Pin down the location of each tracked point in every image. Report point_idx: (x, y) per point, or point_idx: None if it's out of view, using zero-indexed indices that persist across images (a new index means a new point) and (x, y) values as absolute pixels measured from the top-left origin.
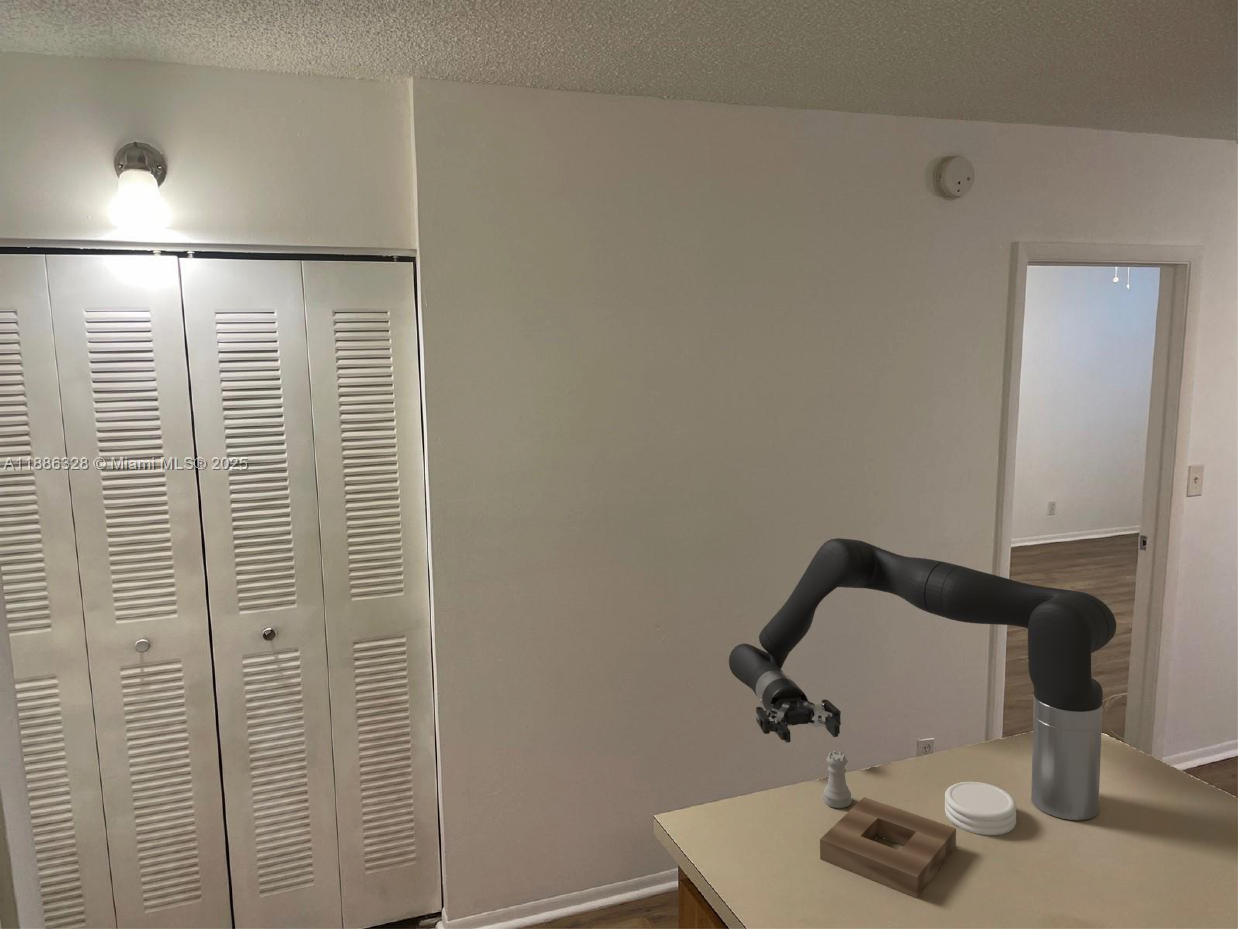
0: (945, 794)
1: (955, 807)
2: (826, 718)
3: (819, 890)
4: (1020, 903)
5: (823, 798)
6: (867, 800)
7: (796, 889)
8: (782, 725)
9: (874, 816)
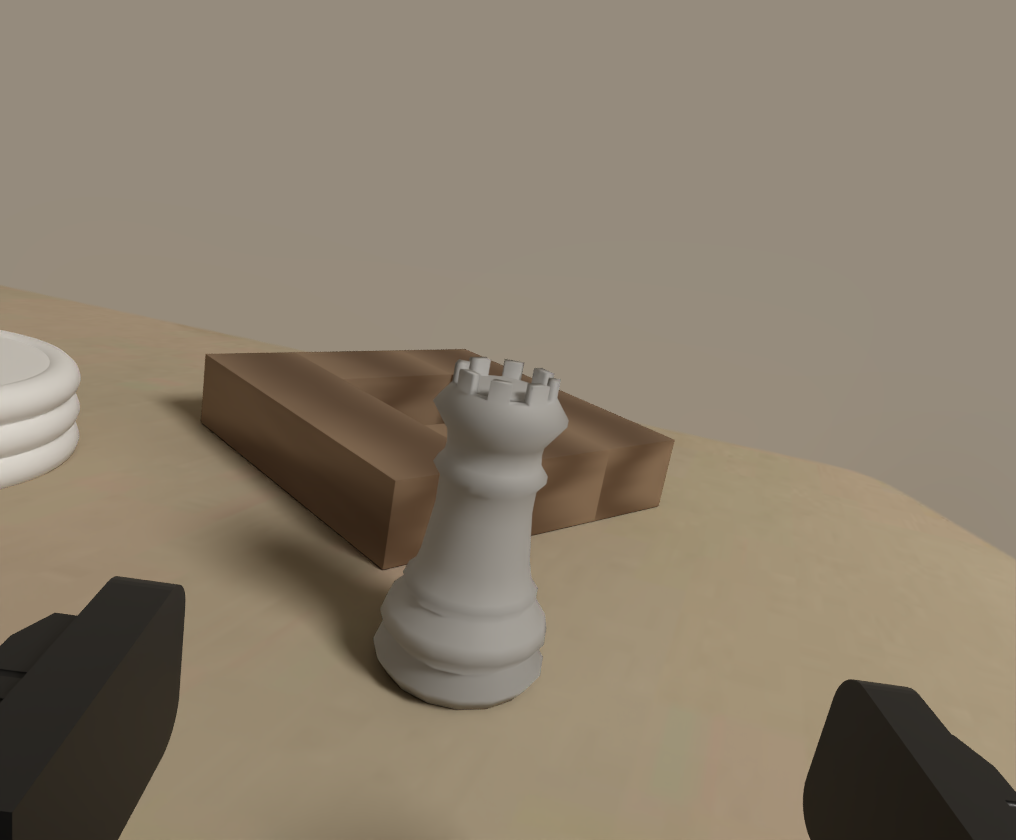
0: (7, 400)
1: (76, 375)
2: (30, 808)
3: (684, 463)
4: (244, 352)
5: (538, 669)
6: (395, 467)
7: (745, 478)
8: (1005, 809)
9: (432, 428)
